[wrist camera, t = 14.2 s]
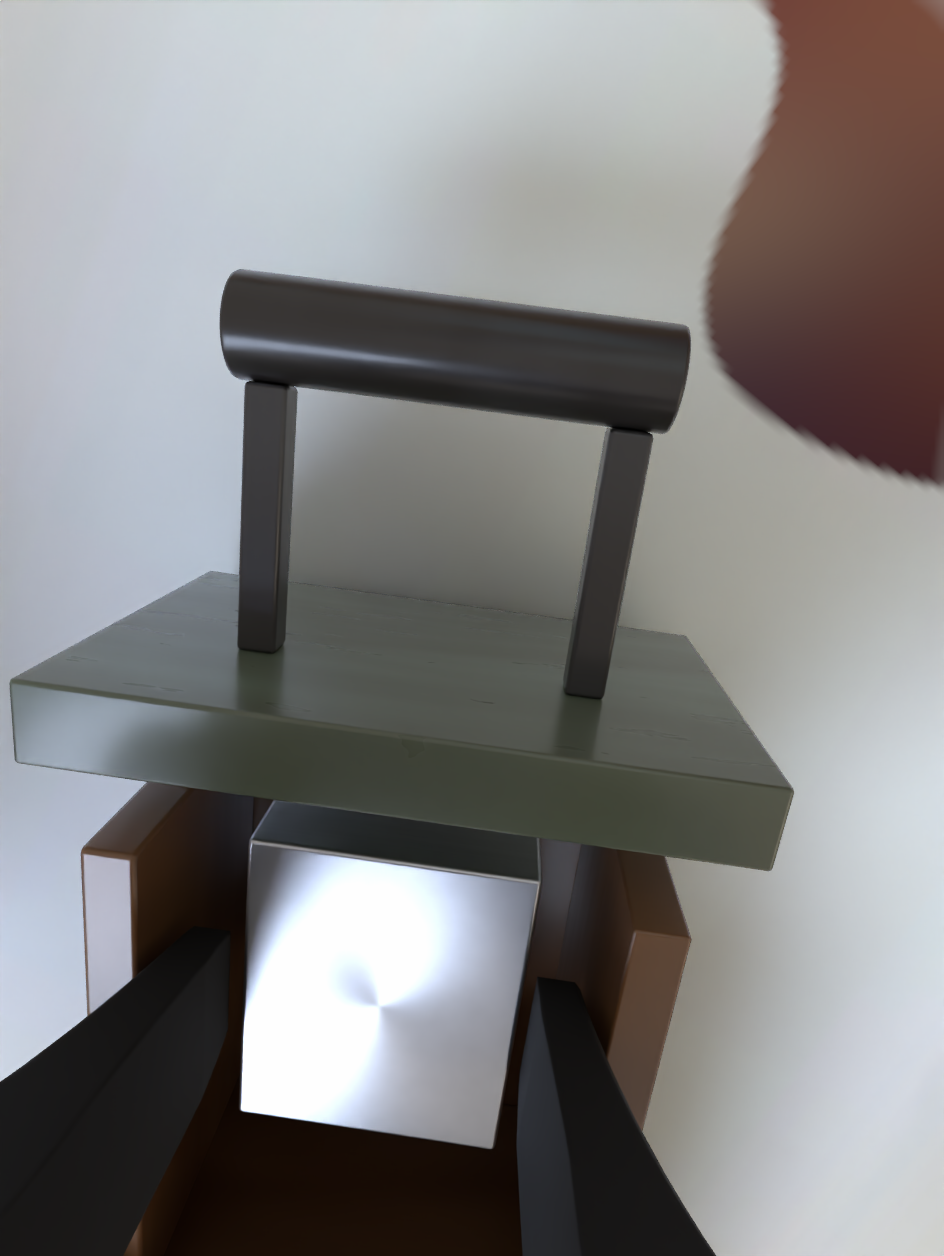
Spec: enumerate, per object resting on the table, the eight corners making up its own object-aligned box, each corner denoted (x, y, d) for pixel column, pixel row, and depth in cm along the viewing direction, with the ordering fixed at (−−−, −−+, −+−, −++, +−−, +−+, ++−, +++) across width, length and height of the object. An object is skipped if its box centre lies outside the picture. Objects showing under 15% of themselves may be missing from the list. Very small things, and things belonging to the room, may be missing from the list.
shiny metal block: (316, 727, 15) (247, 839, 11) (537, 758, 15) (542, 882, 11) (301, 949, 17) (237, 1113, 13) (500, 978, 16) (494, 1152, 13)
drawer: (214, 293, 14) (-27, 207, 8) (748, 360, 13) (929, 327, 7) (201, 1041, 19) (53, 1337, 13) (584, 1099, 19) (614, 1429, 13)
